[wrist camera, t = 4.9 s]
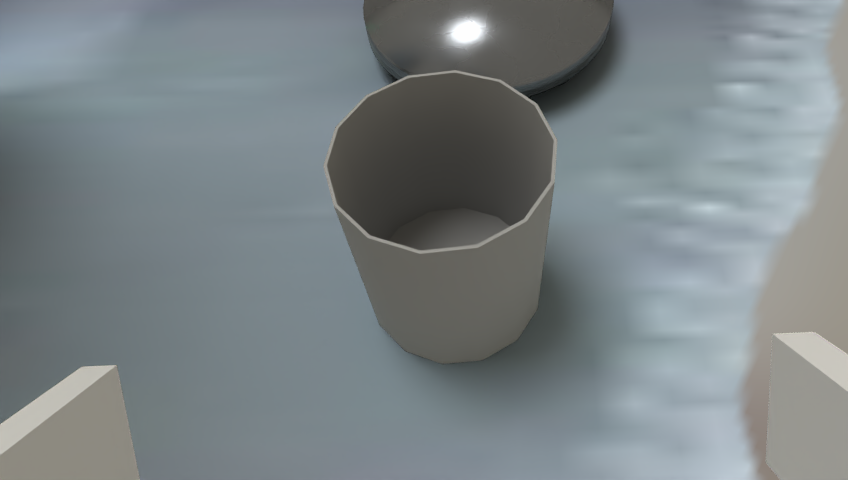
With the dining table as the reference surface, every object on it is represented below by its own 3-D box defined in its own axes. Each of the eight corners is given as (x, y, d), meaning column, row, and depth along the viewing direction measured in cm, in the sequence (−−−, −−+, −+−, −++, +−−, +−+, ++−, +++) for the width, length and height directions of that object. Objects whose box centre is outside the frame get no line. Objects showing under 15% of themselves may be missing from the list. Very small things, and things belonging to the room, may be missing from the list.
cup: (566, 333, 29) (596, 211, 20) (397, 387, 28) (354, 285, 20) (503, 195, 33) (506, 47, 25) (355, 239, 33) (307, 104, 24)
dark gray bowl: (591, 137, 35) (599, 98, 32) (341, 106, 38) (330, 69, 35) (616, -29, 42) (624, -71, 39) (405, -43, 45) (400, -83, 43)
